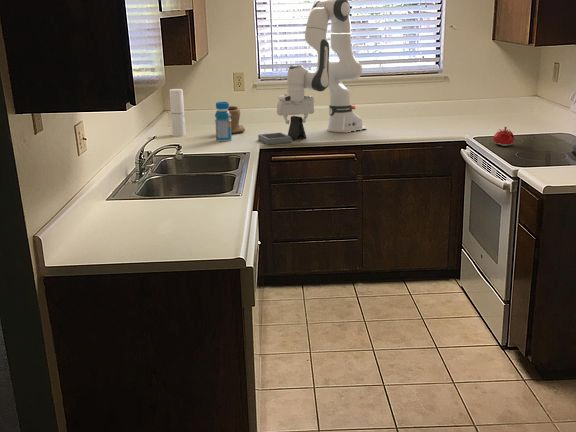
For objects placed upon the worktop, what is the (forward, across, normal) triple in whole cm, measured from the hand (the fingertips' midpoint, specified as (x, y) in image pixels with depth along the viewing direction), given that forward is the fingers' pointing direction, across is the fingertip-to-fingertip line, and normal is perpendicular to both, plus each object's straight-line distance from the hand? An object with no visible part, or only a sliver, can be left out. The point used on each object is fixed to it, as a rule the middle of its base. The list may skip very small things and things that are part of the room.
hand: (295, 123), depth 337 cm
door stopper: (+9, -1, 0) cm, 9 cm away
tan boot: (+9, +24, -31) cm, 41 cm away
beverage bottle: (+9, +35, -14) cm, 39 cm away
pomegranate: (+8, -86, +62) cm, 106 cm away
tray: (+9, +12, +1) cm, 15 cm away
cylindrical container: (+9, +53, -39) cm, 67 cm away
